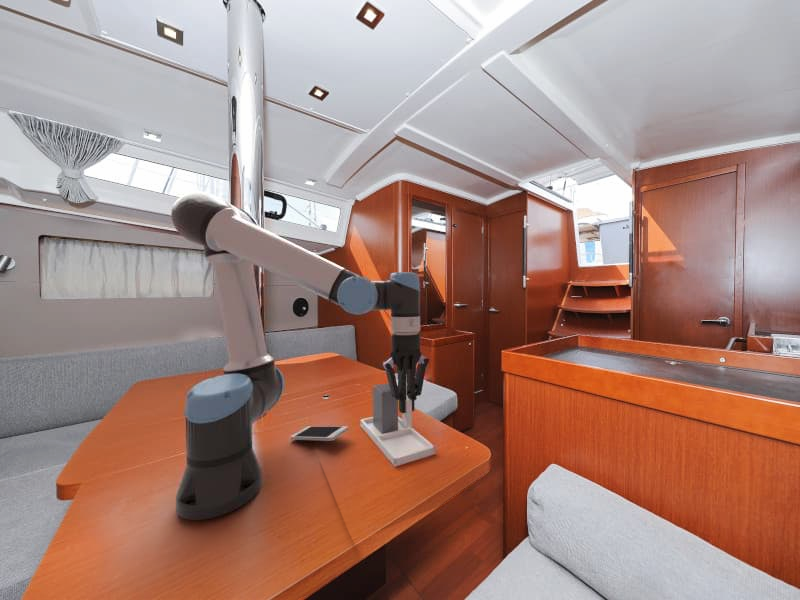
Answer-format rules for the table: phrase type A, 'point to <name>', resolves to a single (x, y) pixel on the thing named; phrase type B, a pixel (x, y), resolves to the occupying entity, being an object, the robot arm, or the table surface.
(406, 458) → the dock
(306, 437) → the smartphone
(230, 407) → the robot arm
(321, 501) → the table surface
